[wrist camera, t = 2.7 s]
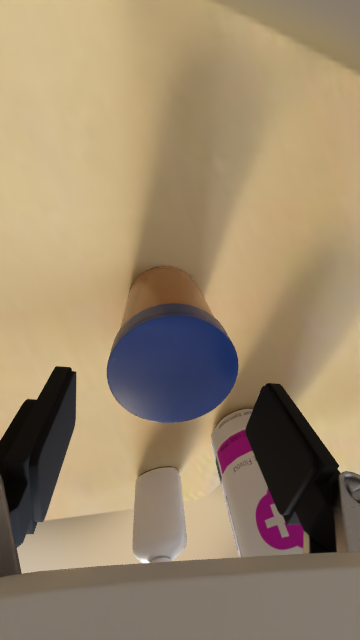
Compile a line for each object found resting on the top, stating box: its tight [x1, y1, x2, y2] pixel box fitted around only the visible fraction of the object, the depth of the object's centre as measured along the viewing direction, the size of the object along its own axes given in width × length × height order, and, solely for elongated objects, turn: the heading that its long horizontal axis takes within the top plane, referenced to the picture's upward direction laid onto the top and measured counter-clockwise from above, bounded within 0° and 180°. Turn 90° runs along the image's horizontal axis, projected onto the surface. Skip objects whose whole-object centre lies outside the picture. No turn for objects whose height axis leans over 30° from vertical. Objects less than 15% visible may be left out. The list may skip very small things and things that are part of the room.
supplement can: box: [211, 409, 304, 557], centre depth 23 cm, size 8×8×15 cm
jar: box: [120, 267, 215, 329], centre depth 18 cm, size 6×6×10 cm
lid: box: [107, 303, 238, 423], centre depth 13 cm, size 7×7×2 cm
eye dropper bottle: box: [133, 467, 187, 563], centre depth 27 cm, size 4×6×12 cm
